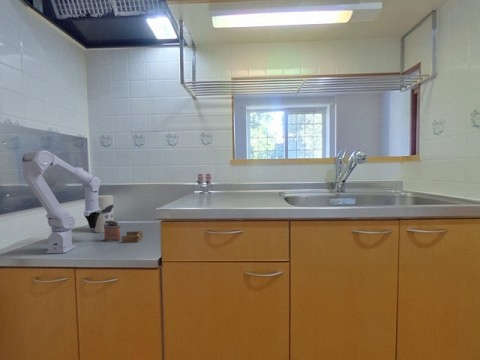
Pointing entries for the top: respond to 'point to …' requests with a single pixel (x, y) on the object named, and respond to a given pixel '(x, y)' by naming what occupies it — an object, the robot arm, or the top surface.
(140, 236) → the lighter dock
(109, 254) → the top surface
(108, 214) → the container
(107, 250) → the top surface
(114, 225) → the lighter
